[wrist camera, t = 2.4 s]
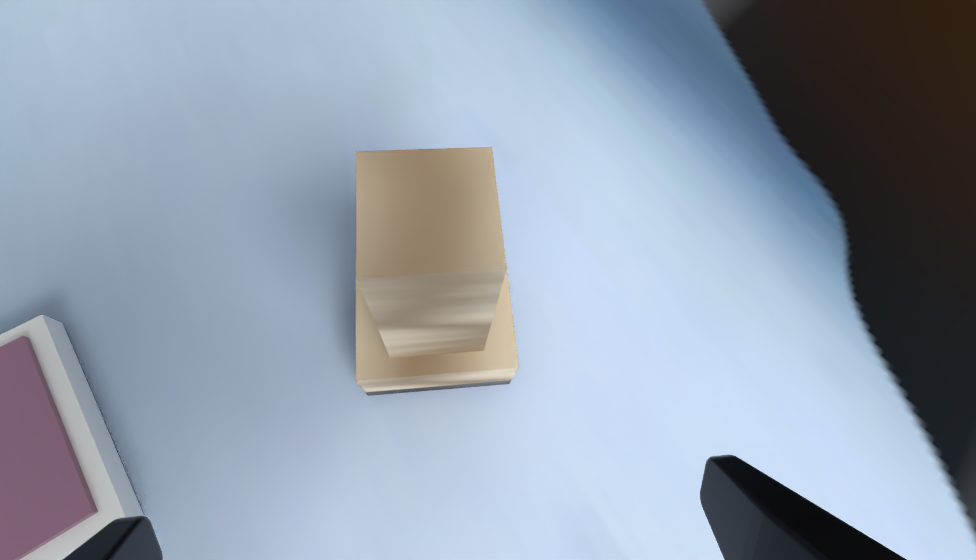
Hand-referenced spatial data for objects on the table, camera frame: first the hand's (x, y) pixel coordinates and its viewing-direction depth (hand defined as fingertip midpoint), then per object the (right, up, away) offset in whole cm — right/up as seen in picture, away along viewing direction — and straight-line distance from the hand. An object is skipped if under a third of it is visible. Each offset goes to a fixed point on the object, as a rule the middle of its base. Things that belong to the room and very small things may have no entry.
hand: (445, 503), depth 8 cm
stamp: (-2, +1, +14) cm, 15 cm away
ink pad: (-18, -3, +11) cm, 21 cm away
